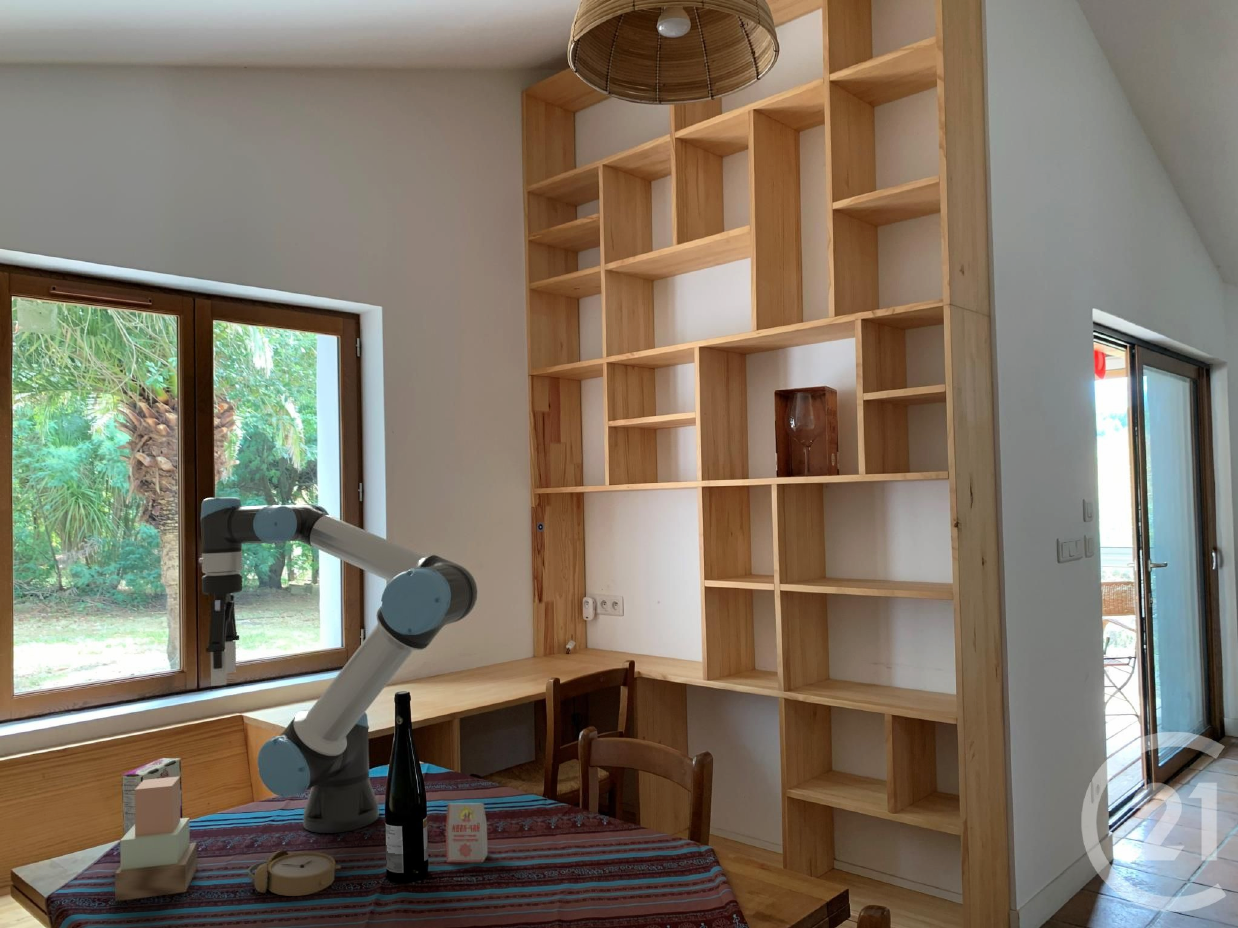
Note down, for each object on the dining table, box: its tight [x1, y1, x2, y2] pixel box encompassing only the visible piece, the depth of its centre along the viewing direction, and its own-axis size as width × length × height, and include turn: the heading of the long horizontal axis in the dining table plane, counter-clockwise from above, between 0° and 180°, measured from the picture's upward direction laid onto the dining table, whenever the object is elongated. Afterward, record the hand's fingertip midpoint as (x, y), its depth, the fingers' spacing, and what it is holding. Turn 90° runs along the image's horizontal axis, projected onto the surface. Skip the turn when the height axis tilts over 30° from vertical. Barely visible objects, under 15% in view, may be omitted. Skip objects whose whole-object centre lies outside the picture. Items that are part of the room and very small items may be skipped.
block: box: [135, 777, 180, 836], centre depth 163 cm, size 6×6×8 cm
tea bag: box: [445, 802, 489, 863], centre depth 170 cm, size 4×7×10 cm, turn 85°
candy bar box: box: [121, 757, 183, 837], centre depth 179 cm, size 11×5×16 cm, turn 168°
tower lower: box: [114, 841, 198, 902], centre depth 163 cm, size 11×11×5 cm
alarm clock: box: [247, 850, 342, 897], centre depth 161 cm, size 11×5×15 cm
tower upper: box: [119, 817, 191, 870], centre depth 163 cm, size 9×9×5 cm
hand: (224, 678), depth 186 cm, fingers open, 13 cm apart
